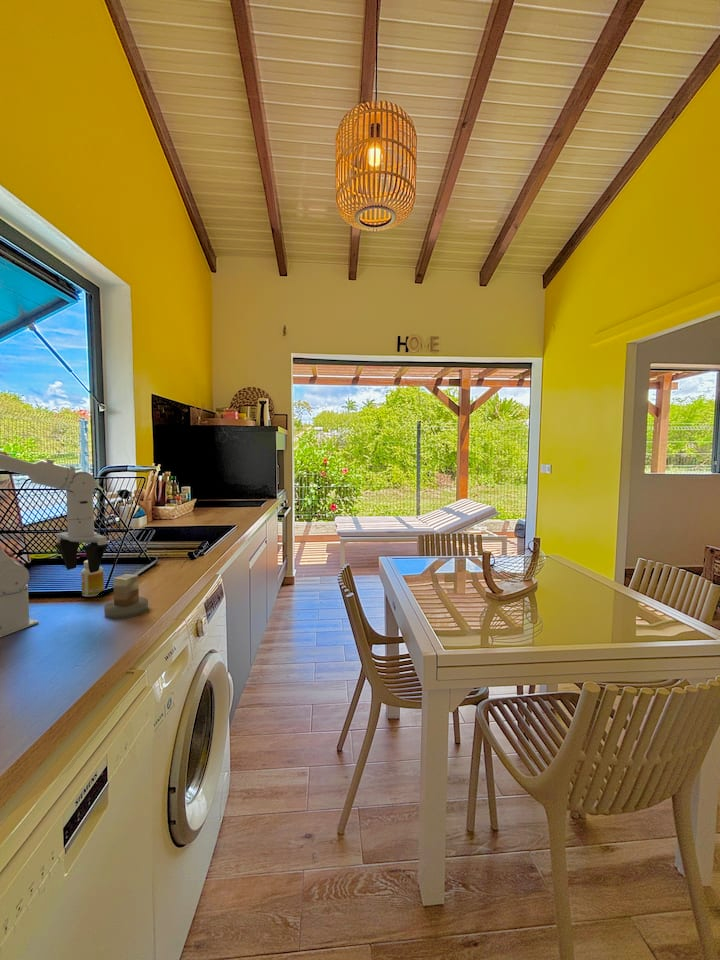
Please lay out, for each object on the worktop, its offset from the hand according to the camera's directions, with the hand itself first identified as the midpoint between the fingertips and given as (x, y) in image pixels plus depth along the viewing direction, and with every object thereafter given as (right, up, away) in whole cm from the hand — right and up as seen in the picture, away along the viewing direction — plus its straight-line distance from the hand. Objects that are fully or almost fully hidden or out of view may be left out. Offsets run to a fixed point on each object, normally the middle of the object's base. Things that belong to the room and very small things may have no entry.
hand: (82, 570), depth 115 cm
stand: (+11, -11, 0) cm, 15 cm away
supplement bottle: (-5, -10, +13) cm, 17 cm away
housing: (+11, -9, 0) cm, 14 cm away
